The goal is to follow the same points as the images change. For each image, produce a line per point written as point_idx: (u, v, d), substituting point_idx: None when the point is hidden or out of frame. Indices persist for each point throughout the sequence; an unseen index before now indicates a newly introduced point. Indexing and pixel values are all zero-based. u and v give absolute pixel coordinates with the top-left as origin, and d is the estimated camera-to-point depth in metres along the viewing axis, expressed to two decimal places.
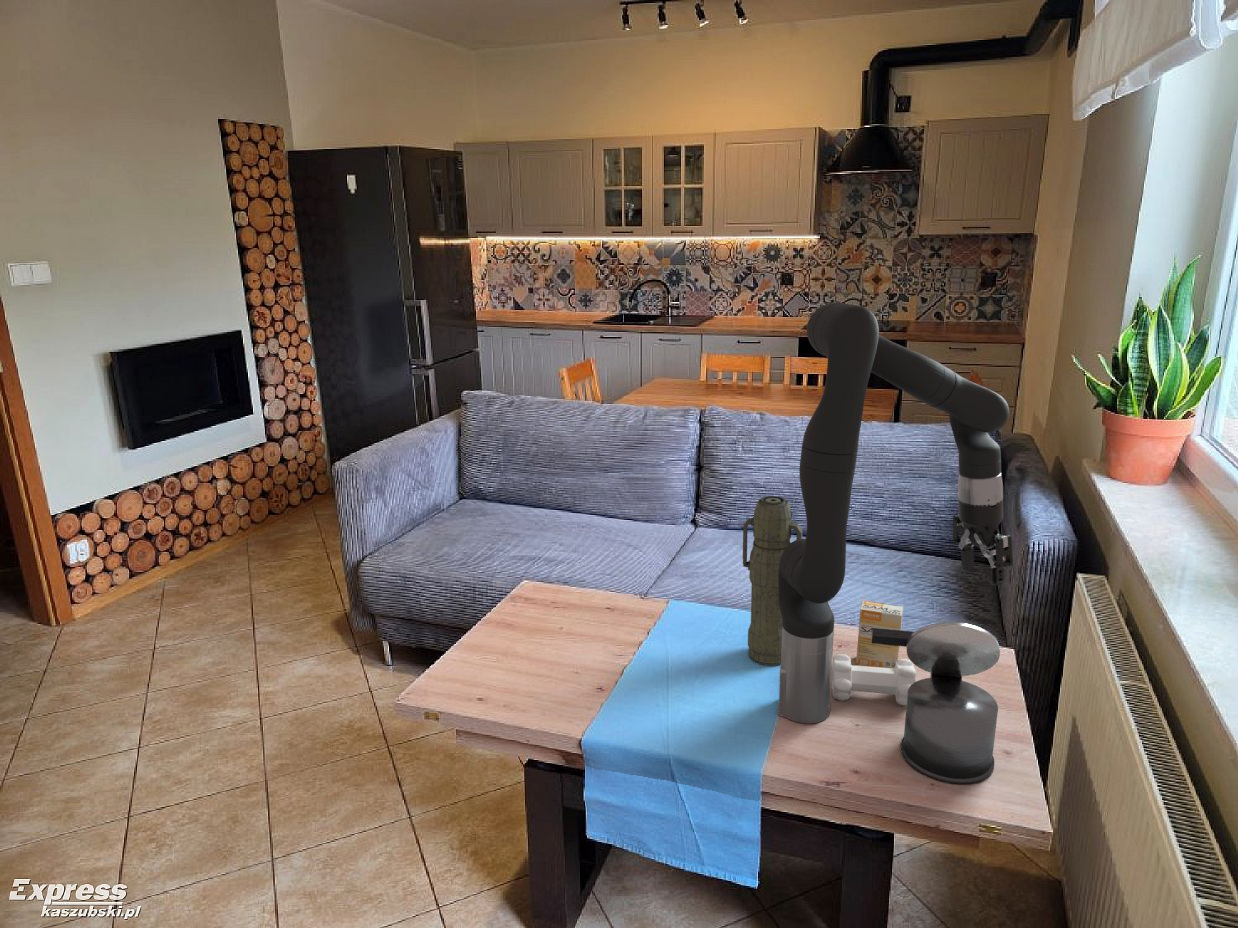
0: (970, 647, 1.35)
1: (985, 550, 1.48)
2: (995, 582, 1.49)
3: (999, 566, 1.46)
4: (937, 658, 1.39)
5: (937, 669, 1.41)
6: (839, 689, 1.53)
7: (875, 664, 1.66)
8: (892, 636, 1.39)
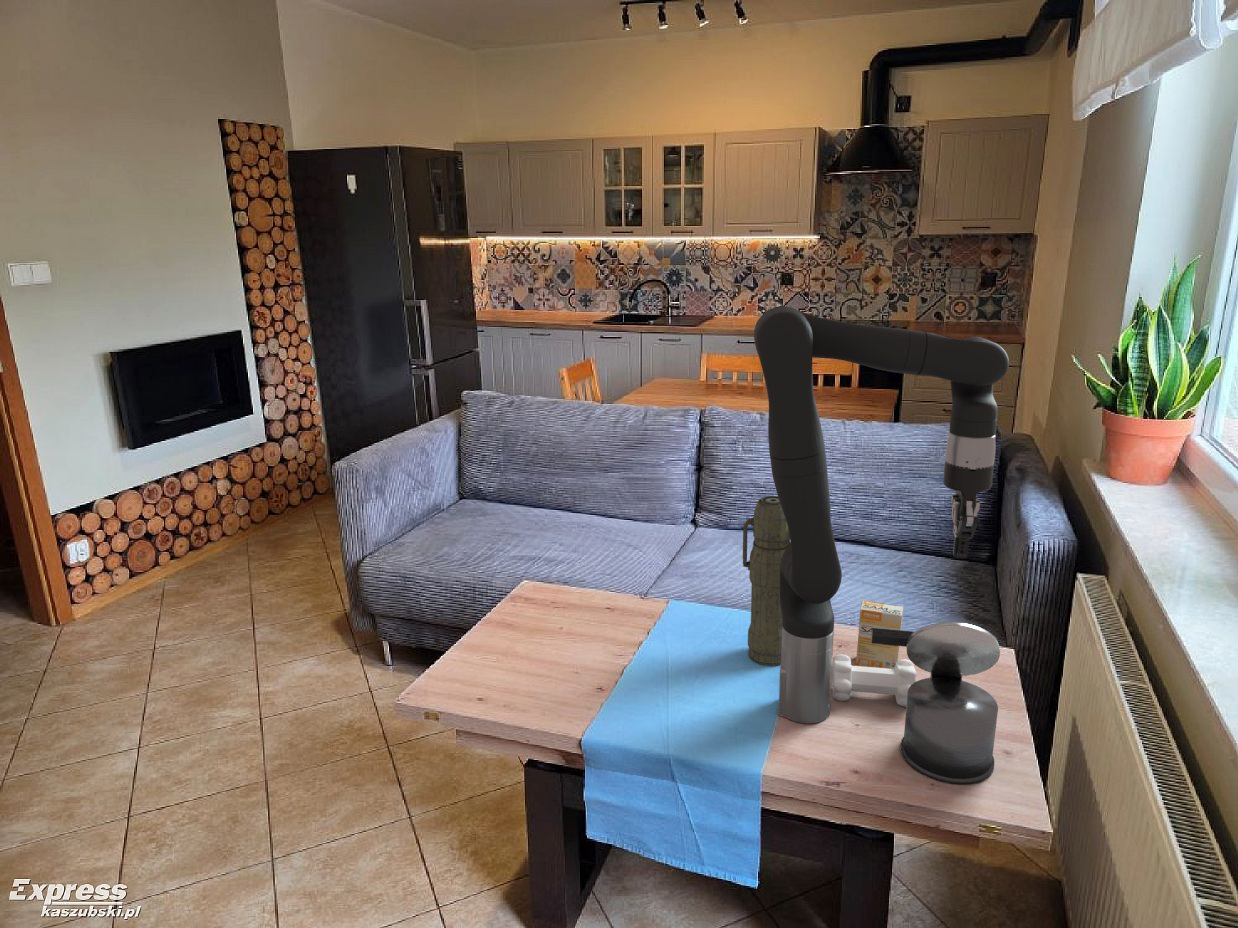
0: (970, 647, 1.35)
1: (954, 519, 1.36)
2: (956, 553, 1.39)
3: (957, 534, 1.36)
4: (937, 658, 1.39)
5: (937, 669, 1.41)
6: (839, 689, 1.53)
7: (875, 664, 1.66)
8: (892, 636, 1.39)
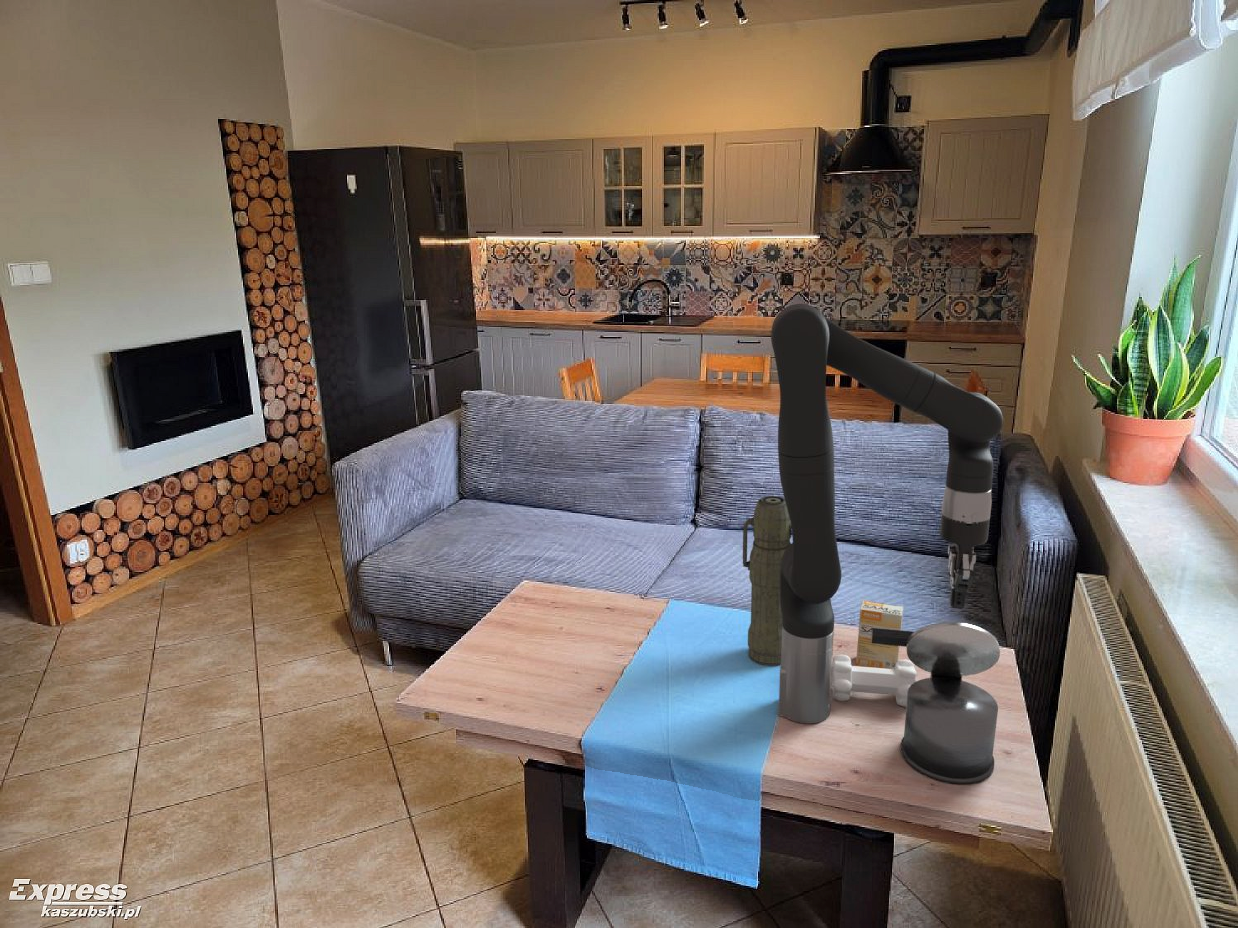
0: (970, 647, 1.35)
1: (951, 571, 1.38)
2: (953, 604, 1.40)
3: (953, 586, 1.37)
4: (937, 658, 1.39)
5: (937, 669, 1.41)
6: (839, 690, 1.53)
7: (875, 664, 1.66)
8: (892, 636, 1.39)
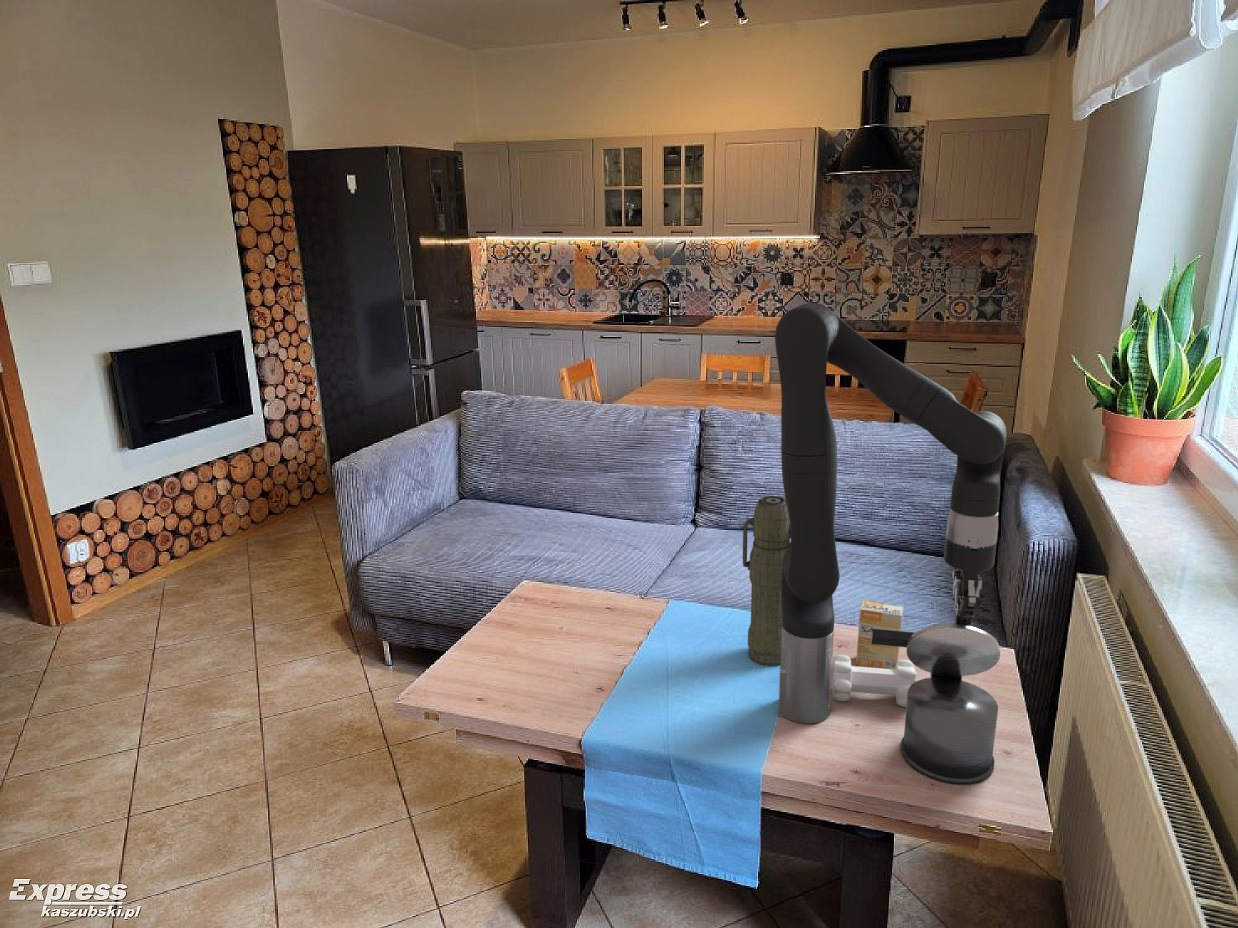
0: (970, 648, 1.35)
1: (956, 597, 1.32)
2: None
3: (958, 613, 1.31)
4: (937, 659, 1.39)
5: (937, 669, 1.41)
6: (839, 690, 1.52)
7: (875, 664, 1.66)
8: (892, 637, 1.39)
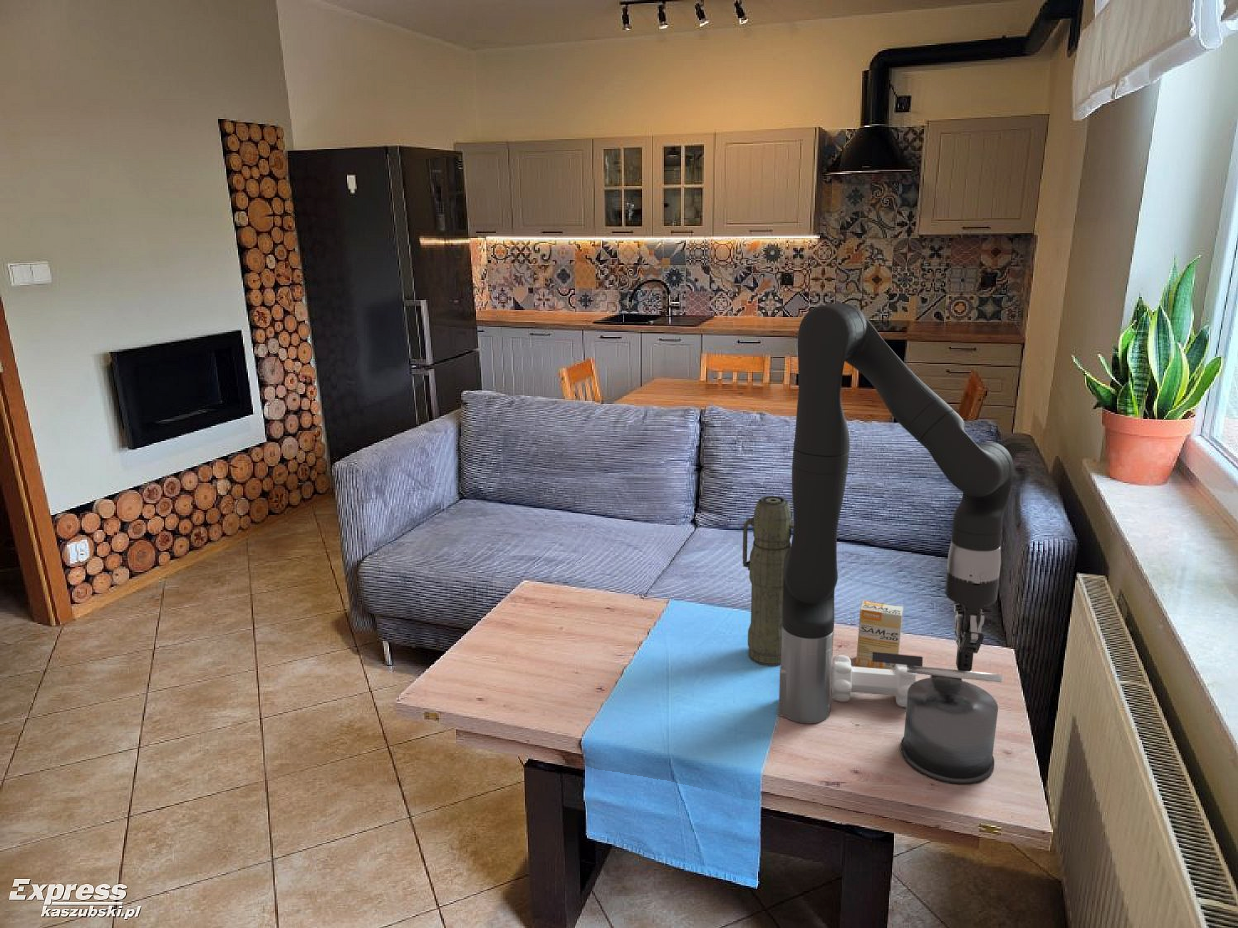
0: None
1: (957, 632, 1.29)
2: (960, 666, 1.31)
3: (960, 648, 1.28)
4: None
5: None
6: (839, 690, 1.52)
7: (875, 664, 1.66)
8: (893, 662, 1.37)
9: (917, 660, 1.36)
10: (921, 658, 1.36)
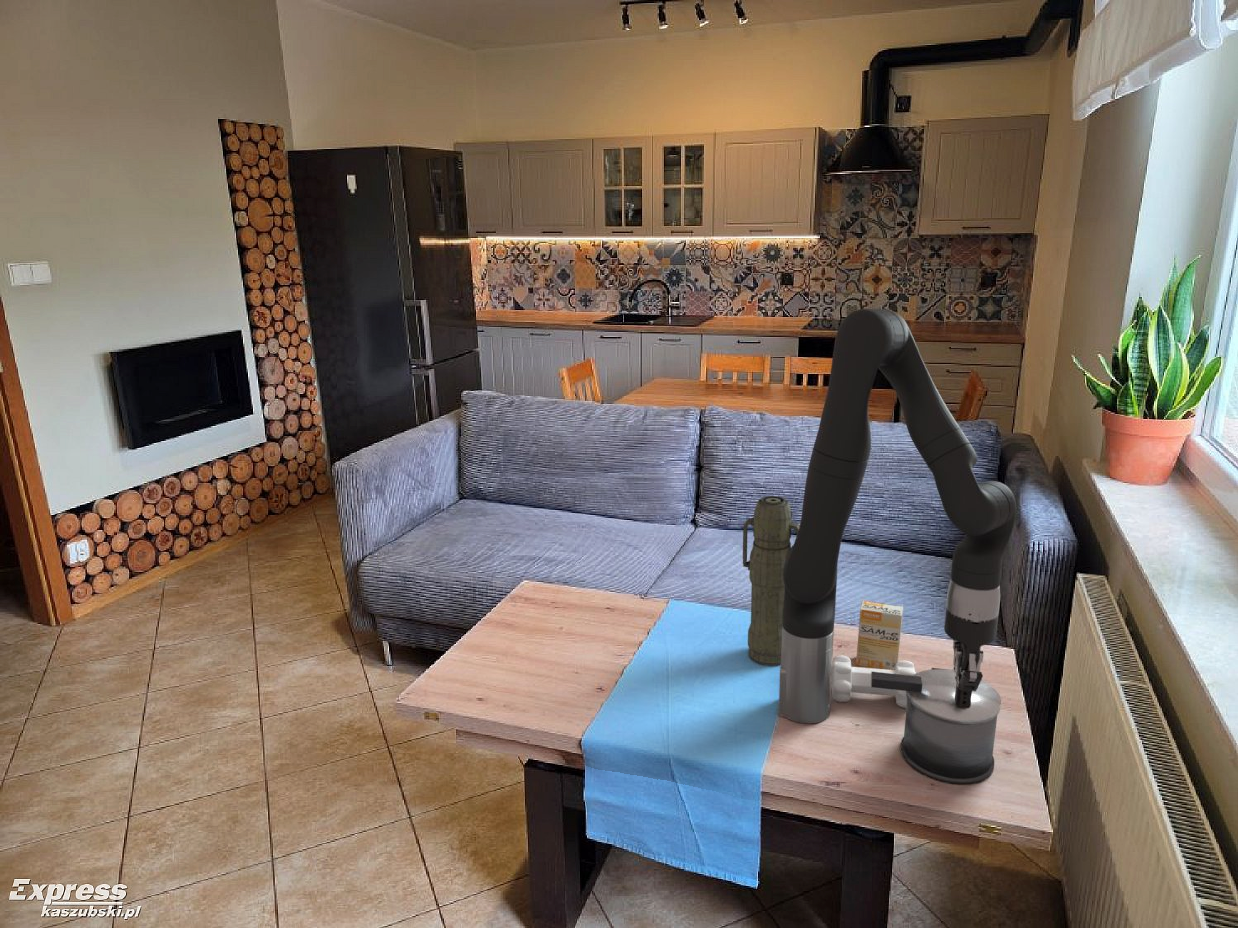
0: None
1: (956, 669, 1.28)
2: (958, 703, 1.30)
3: (959, 686, 1.27)
4: None
5: None
6: (839, 691, 1.52)
7: (875, 664, 1.66)
8: (892, 688, 1.36)
9: (917, 687, 1.35)
10: (921, 685, 1.35)
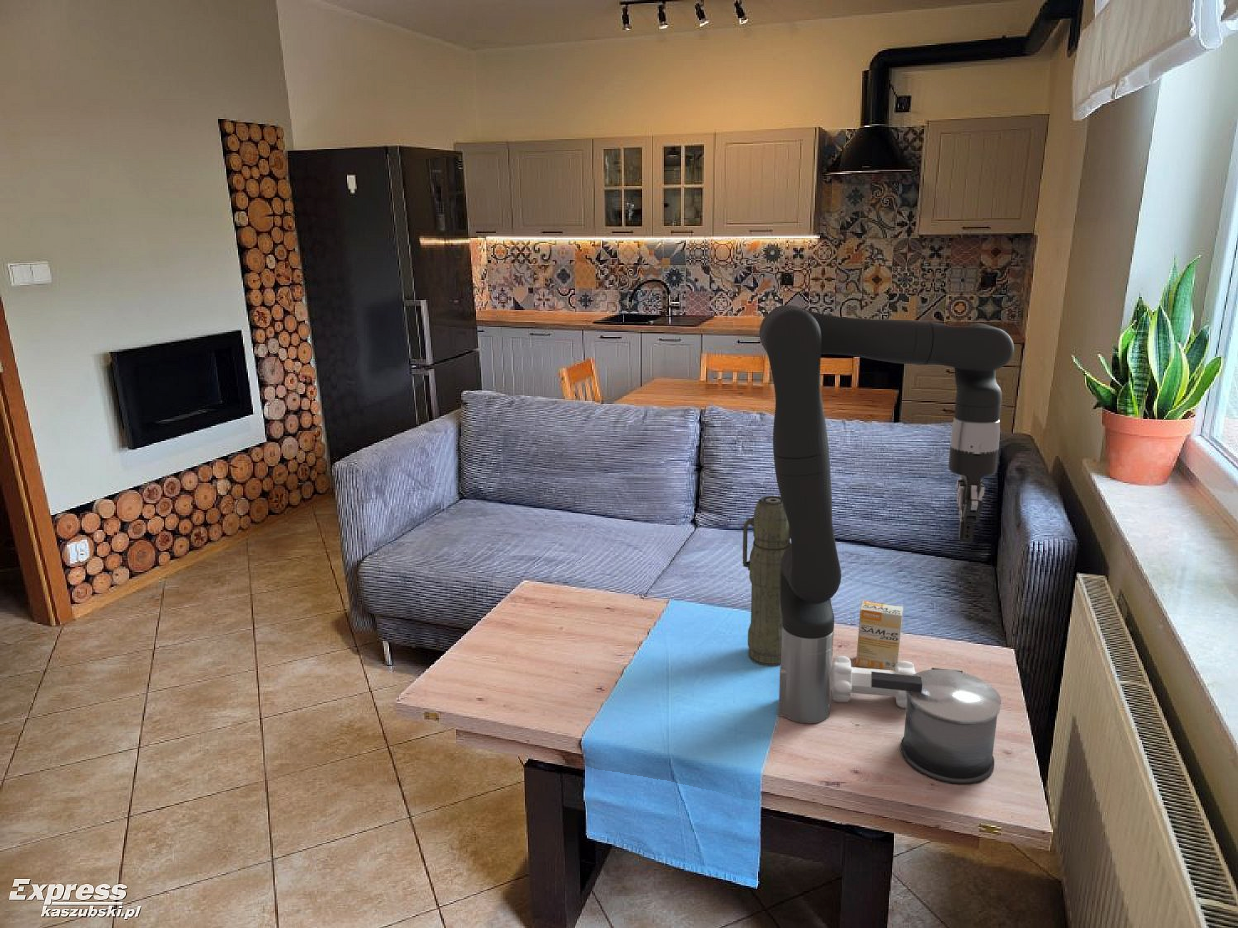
0: None
1: (959, 504, 1.38)
2: (962, 538, 1.40)
3: (962, 518, 1.38)
4: None
5: None
6: (839, 691, 1.52)
7: (875, 664, 1.66)
8: (892, 688, 1.36)
9: (917, 687, 1.35)
10: (921, 685, 1.35)
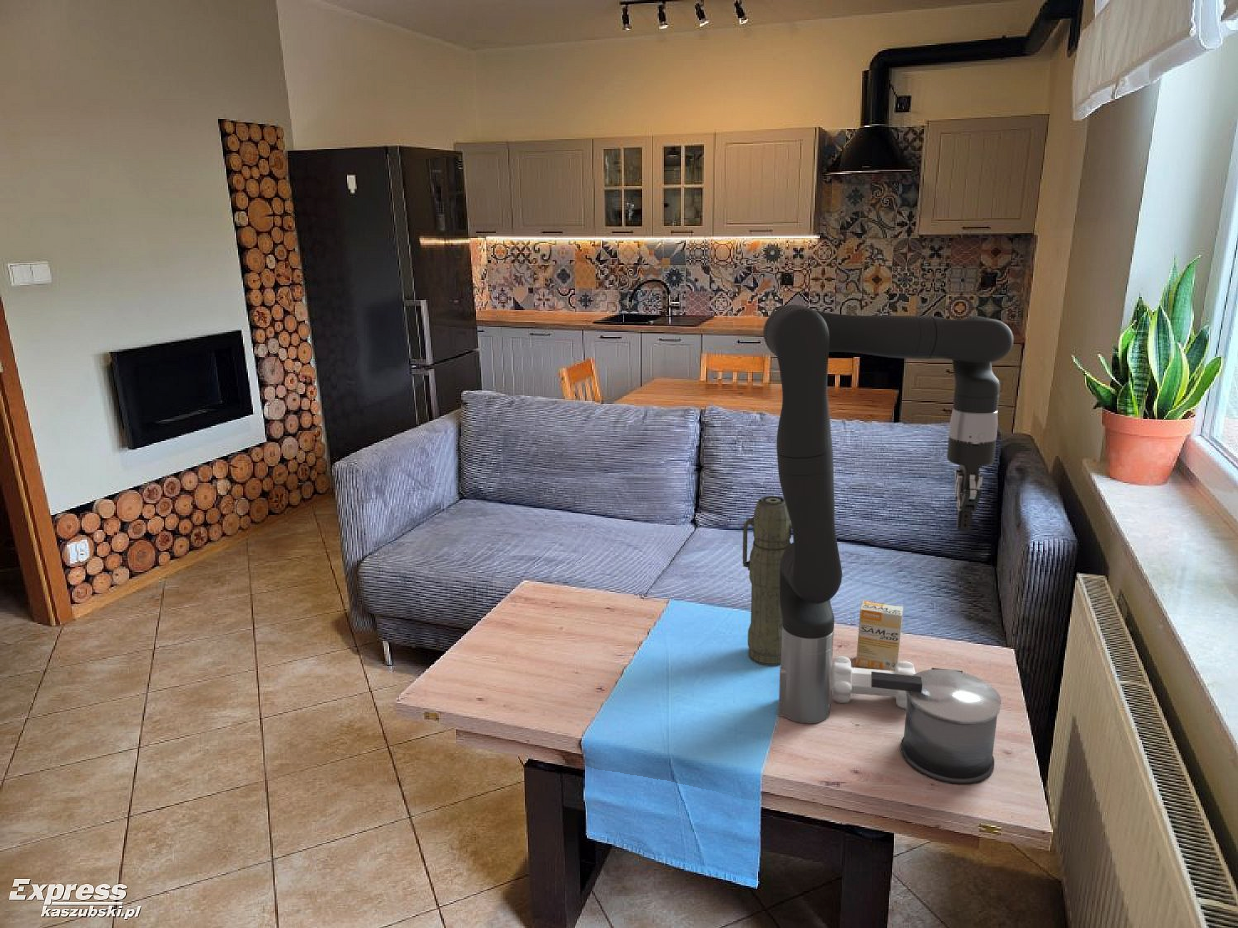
0: None
1: (958, 493, 1.41)
2: (960, 527, 1.43)
3: (960, 507, 1.40)
4: None
5: None
6: (839, 691, 1.52)
7: (875, 664, 1.66)
8: (892, 688, 1.36)
9: (917, 687, 1.35)
10: (921, 685, 1.35)
